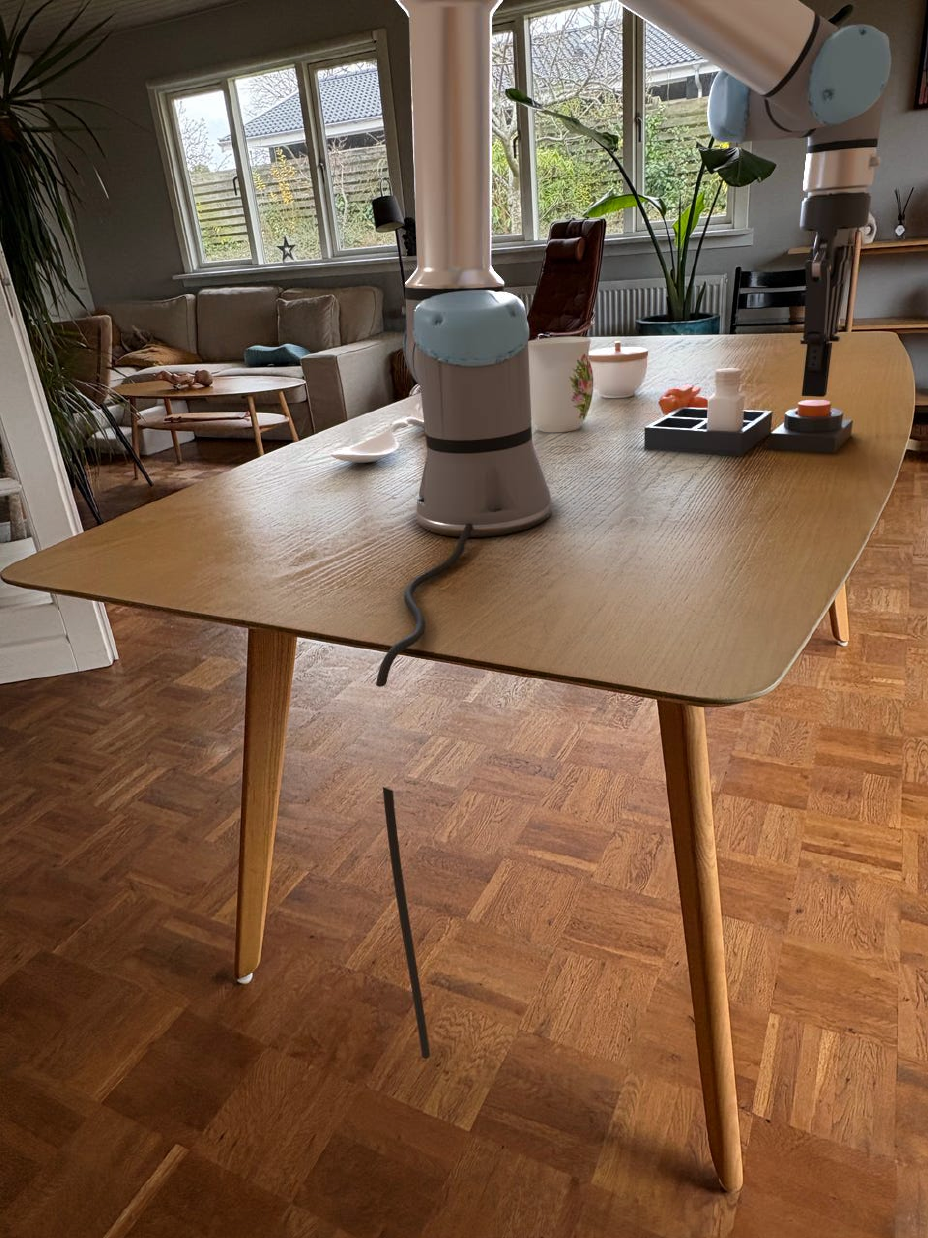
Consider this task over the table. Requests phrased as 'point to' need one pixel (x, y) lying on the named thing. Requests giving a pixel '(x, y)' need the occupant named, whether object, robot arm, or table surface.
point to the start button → (814, 408)
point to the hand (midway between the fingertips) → (813, 395)
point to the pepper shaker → (726, 402)
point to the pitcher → (560, 382)
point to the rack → (705, 433)
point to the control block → (811, 432)
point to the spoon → (380, 441)
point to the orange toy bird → (682, 399)
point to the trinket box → (618, 370)
